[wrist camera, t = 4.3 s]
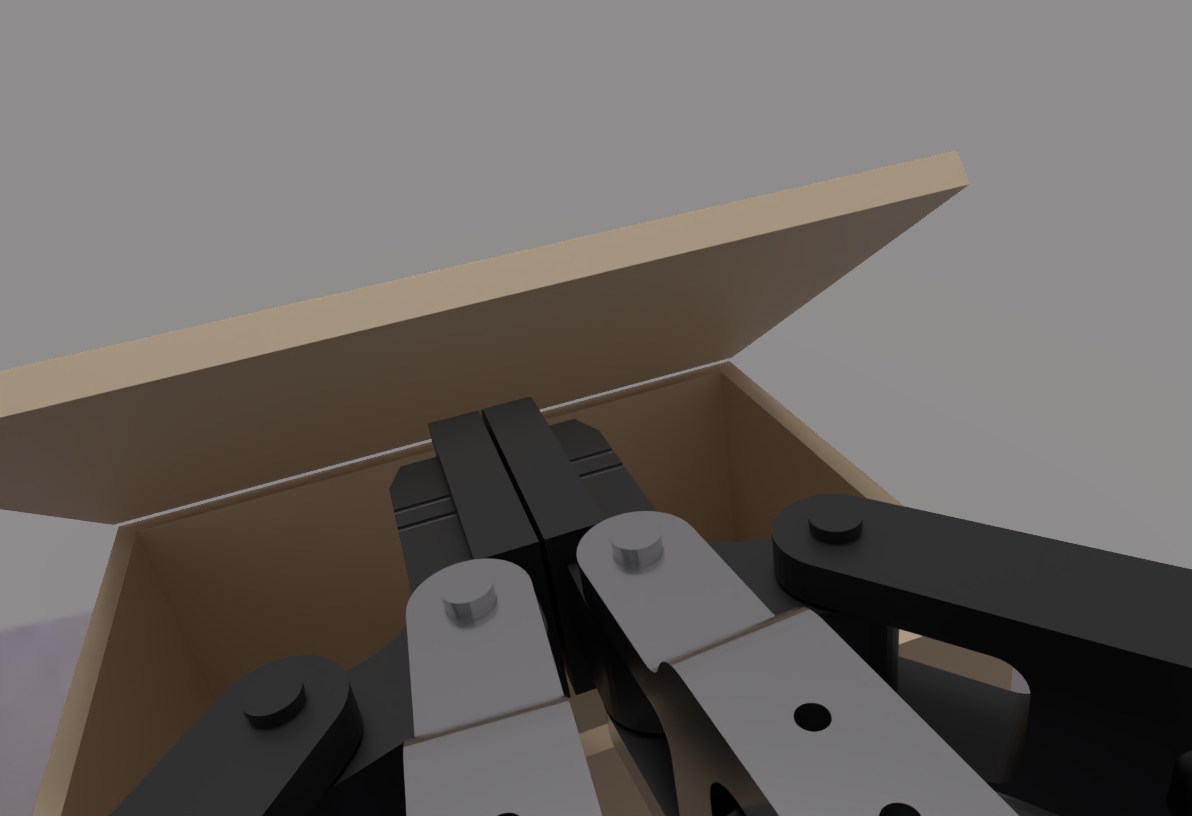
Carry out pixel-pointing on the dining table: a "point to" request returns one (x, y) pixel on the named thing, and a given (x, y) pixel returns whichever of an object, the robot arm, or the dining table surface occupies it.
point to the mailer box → (399, 577)
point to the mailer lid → (434, 348)
